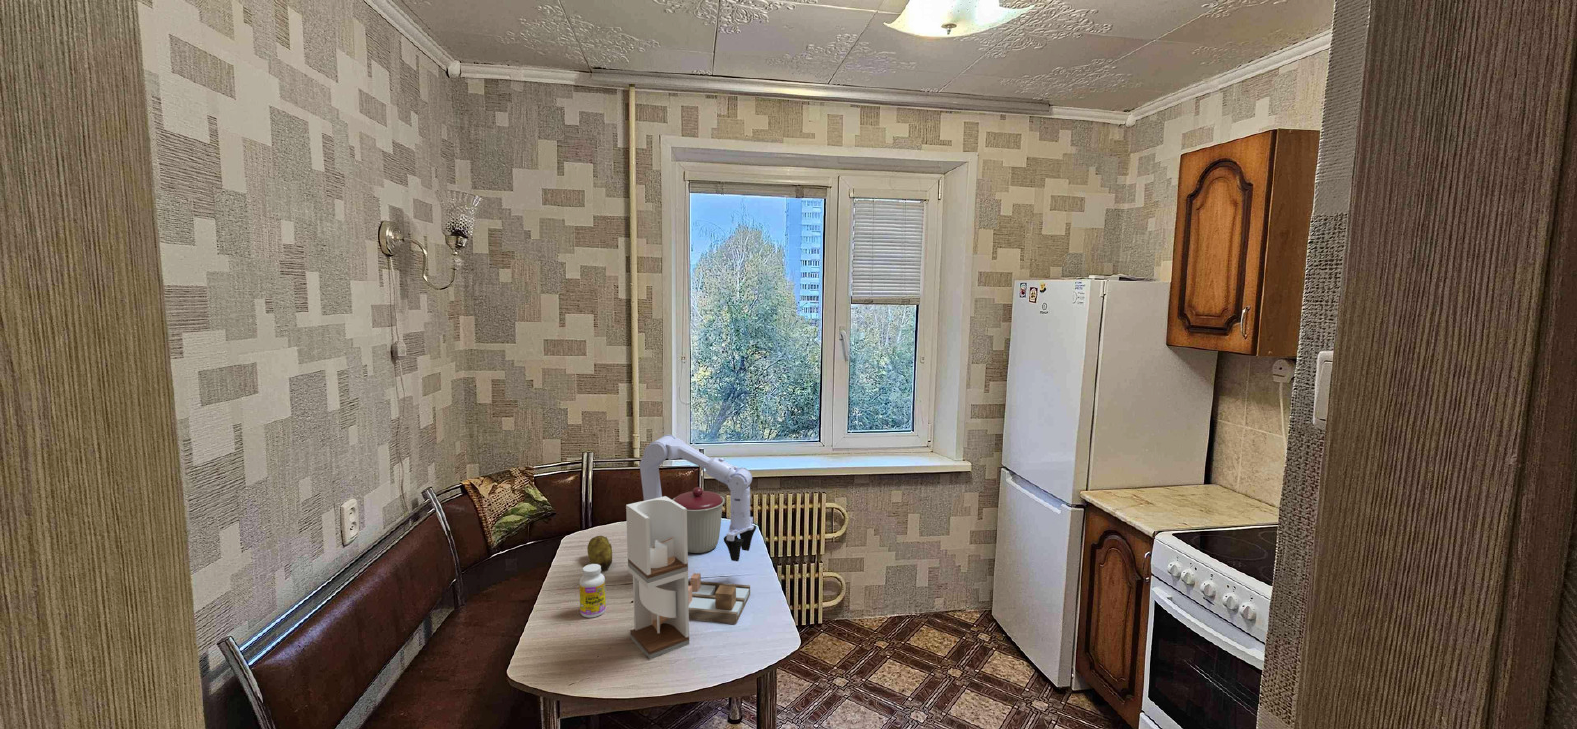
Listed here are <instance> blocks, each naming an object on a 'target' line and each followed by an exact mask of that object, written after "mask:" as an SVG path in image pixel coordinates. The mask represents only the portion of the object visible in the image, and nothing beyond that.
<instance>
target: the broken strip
mask: <svg viewBox="0 0 1577 729" xmlns="http://www.w3.org/2000/svg"><path fill="white" fill-rule="evenodd" d="M689 580H690V581H691V586H692V594H703V595H713V594H714V592H715V586H710V585H701V581H702V578H701V573H699V572H697V573H696V572H693V573H692V575H691V576H690V579H689ZM748 595H749V589H745V588H736V597H737V598H744V603H745V601H746V599H747V597H748Z"/></svg>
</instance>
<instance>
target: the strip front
mask: <svg viewBox="0 0 1577 729" xmlns="http://www.w3.org/2000/svg"><path fill="white" fill-rule="evenodd" d="M688 601H689V608H699V609H710V610H720V609H716V607H715V599H705V598H694V597H692V586H688ZM742 606H743V602H739V601H736V603H735V605H734V607H733V609H732V611H731V610H721V611H731V612H737V616H738V615H739V613H740V611H741V608H742Z"/></svg>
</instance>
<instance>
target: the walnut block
mask: <svg viewBox="0 0 1577 729" xmlns="http://www.w3.org/2000/svg"><path fill="white" fill-rule="evenodd" d="M735 603H736V587H734V586H723V585H720V586H719V588H718V590H717V591H716V593H715V607H716V609H720V610H731V611H732V609H733V607H734V605H735Z"/></svg>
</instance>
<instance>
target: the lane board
mask: <svg viewBox="0 0 1577 729" xmlns="http://www.w3.org/2000/svg"><path fill="white" fill-rule="evenodd" d="M701 585H710V586H715V592H714V594H713V595H703V594H692V597H694V598H705V599H715V593H716V591H717V590H718V588H719V586H720V585H723V586H734V587H736V588H745V589H749V595H748V597H747V599H746V601H745V603H744V598H737V597H736V601H739V602H743V606H742V608H741V611H740V613H739V615H738V616H737V612H731V611H721V610H710V609H699V608H689V621H690V620H692V621H702V622H711V623H722V624H732V625H733V624H735V625H737V623H738V622H739V619H740V617H741V615H742V613H743V611H744V609H745V606H746V604H747V603H748V600H749V599H750V596H751V585H749V584H738V583H726V582H714V581H705V580H704V581H703V580H701ZM688 586H691V581H690V579H688Z"/></svg>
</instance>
